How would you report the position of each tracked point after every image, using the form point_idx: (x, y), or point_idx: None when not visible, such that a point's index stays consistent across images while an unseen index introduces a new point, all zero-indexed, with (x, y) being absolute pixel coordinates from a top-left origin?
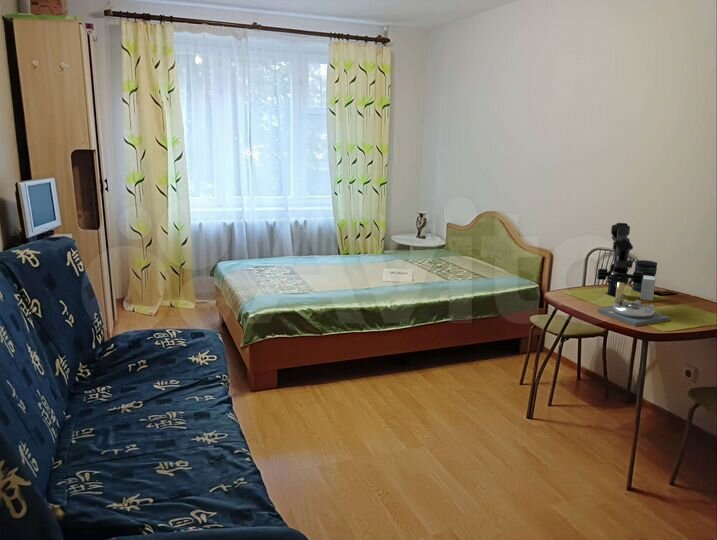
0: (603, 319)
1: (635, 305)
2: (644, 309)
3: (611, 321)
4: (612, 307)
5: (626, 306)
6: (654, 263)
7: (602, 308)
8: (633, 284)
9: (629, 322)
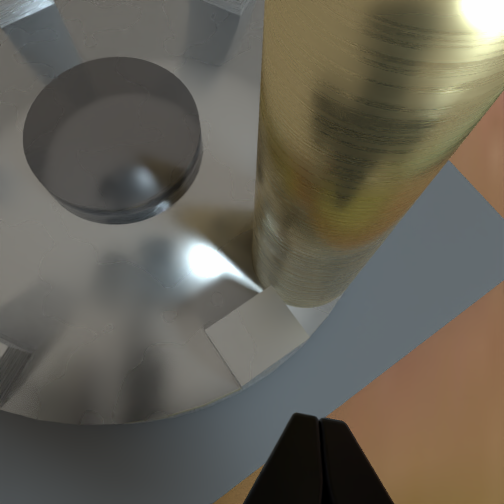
0: None
1: (102, 101)
2: (9, 94)
3: None
4: (348, 366)
5: (210, 173)
6: None
7: (481, 282)
8: None
9: None
